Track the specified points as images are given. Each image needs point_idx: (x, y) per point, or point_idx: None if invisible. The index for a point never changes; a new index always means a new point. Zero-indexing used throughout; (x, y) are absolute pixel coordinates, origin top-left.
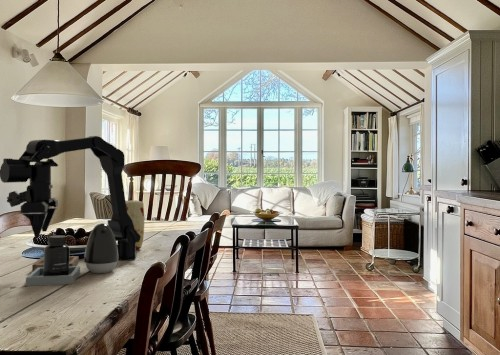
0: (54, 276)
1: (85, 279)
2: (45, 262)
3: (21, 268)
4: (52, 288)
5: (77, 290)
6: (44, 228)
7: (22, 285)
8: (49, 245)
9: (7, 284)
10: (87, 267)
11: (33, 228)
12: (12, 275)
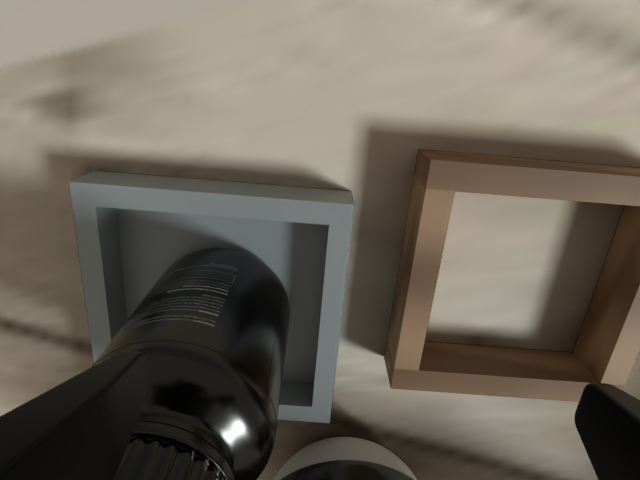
0: (92, 328)
1: None
2: (136, 310)
3: (600, 44)
4: (39, 304)
5: (5, 401)
6: (606, 437)
7: (105, 150)
8: None
9: (136, 53)
10: (311, 448)
11: (3, 433)
12: (383, 27)
